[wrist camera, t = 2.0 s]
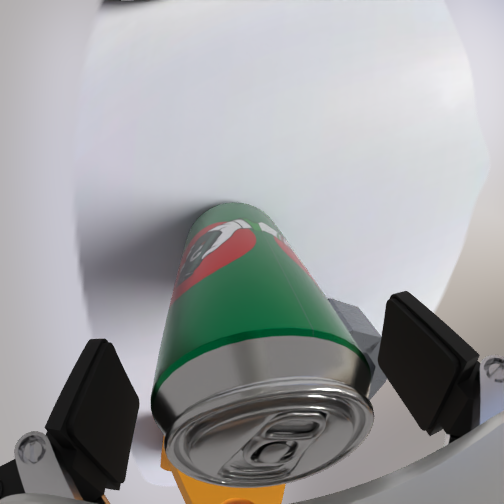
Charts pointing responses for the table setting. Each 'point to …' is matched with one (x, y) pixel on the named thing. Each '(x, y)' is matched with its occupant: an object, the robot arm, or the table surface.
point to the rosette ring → (363, 340)
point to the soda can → (255, 361)
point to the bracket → (220, 490)
